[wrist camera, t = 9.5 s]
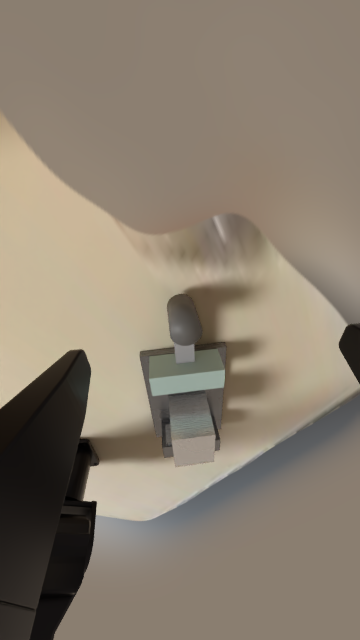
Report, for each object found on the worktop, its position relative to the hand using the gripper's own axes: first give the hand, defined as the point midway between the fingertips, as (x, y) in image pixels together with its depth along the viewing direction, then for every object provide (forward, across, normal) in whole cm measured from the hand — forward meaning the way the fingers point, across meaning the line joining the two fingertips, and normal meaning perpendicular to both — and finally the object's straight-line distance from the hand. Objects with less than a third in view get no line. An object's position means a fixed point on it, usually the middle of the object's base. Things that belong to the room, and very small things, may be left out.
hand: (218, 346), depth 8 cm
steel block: (+12, 0, +18) cm, 21 cm away
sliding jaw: (+11, 0, +9) cm, 14 cm away
